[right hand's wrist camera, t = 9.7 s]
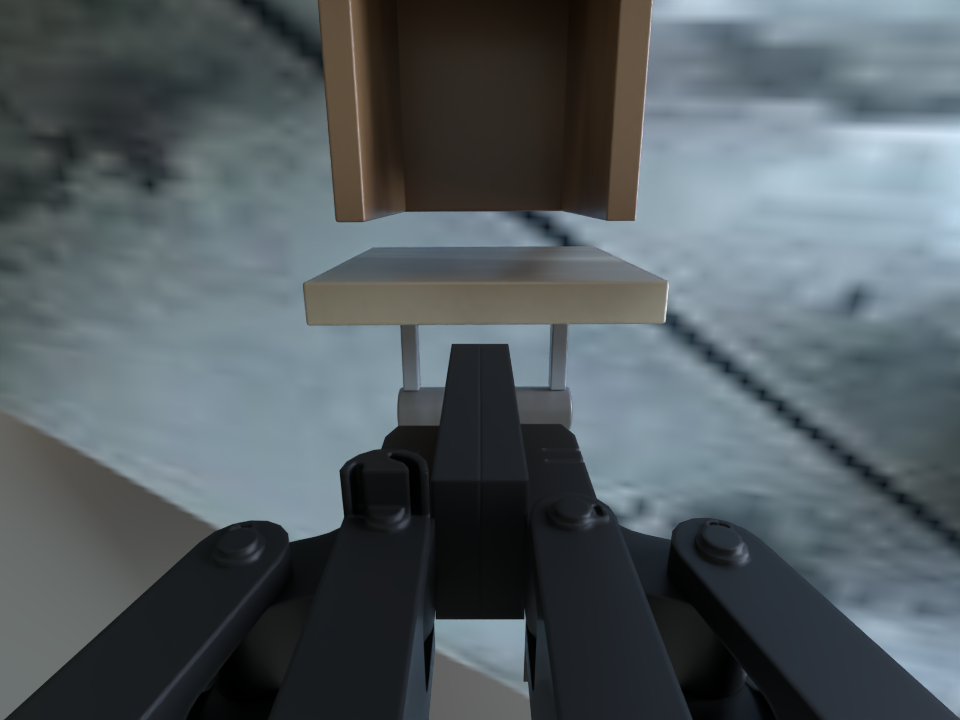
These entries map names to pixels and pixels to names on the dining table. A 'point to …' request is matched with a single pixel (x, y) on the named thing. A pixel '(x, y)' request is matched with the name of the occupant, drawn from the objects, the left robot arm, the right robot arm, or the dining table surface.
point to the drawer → (485, 169)
